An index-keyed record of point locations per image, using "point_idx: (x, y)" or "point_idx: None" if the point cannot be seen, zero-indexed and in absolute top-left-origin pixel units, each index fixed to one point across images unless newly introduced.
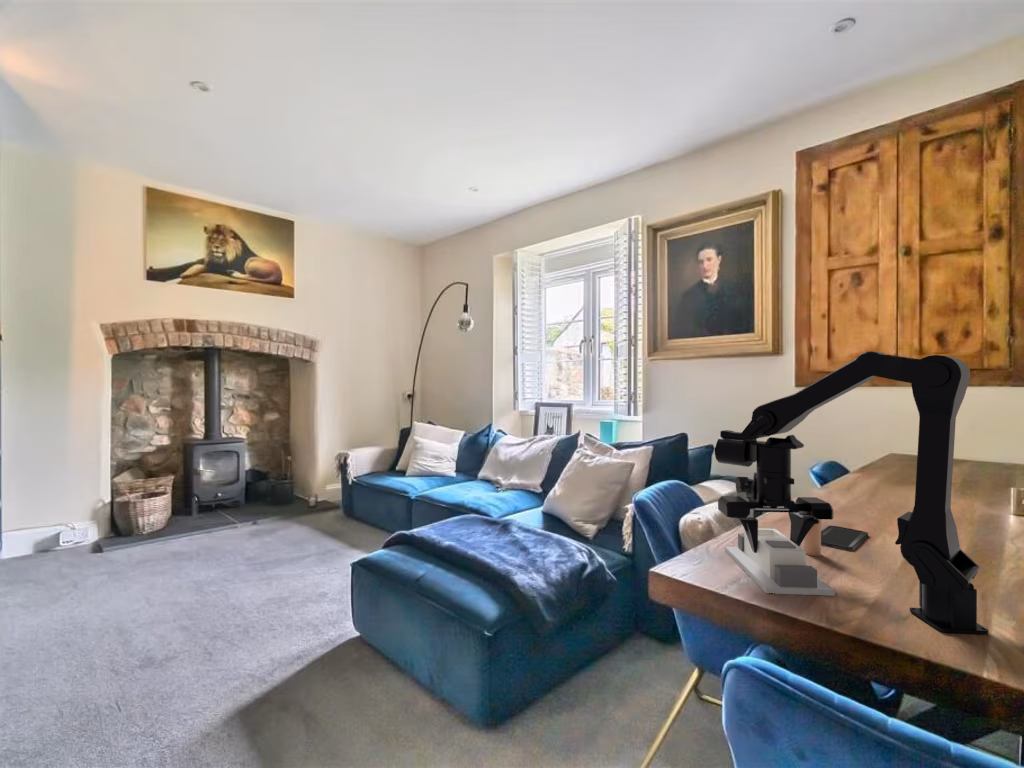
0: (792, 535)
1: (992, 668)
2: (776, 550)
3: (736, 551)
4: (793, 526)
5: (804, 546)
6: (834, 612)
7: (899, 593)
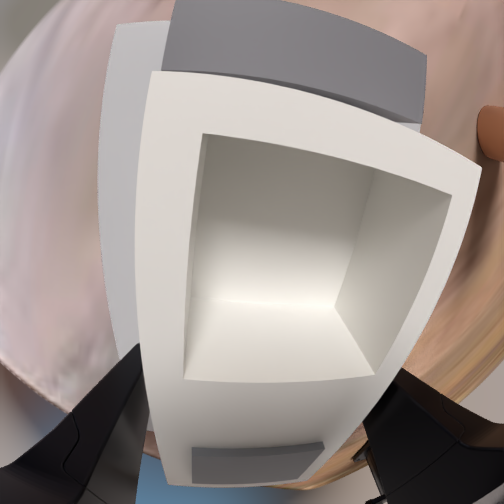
0: (398, 421)
1: (324, 482)
2: (195, 486)
3: (140, 101)
4: (431, 459)
5: (497, 123)
6: None
7: (436, 377)
